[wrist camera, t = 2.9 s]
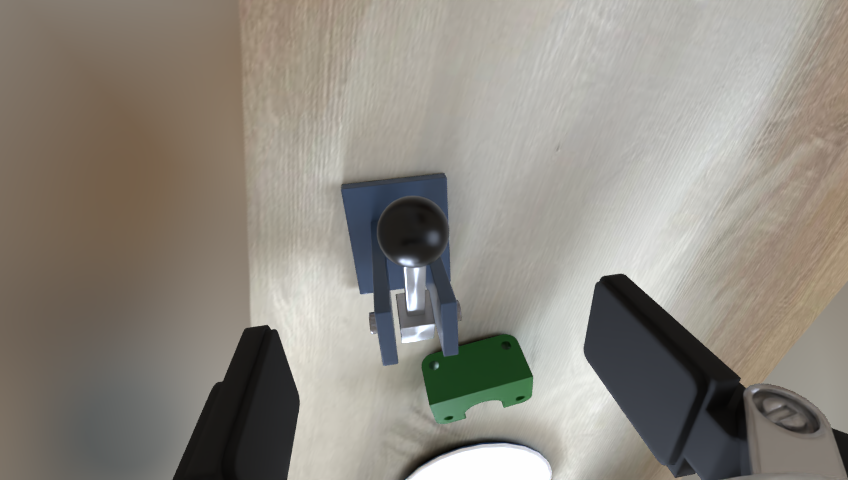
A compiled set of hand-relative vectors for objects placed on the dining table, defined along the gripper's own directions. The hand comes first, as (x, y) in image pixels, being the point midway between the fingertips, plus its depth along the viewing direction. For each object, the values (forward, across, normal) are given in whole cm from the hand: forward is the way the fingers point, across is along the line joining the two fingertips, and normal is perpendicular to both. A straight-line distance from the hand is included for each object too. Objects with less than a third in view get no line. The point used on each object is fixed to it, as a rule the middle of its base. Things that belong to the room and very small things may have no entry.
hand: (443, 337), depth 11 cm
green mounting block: (+24, -7, +27) cm, 36 cm away
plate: (+24, -7, +54) cm, 60 cm away
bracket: (+23, 0, +8) cm, 25 cm away
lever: (+10, 0, +3) cm, 11 cm away
